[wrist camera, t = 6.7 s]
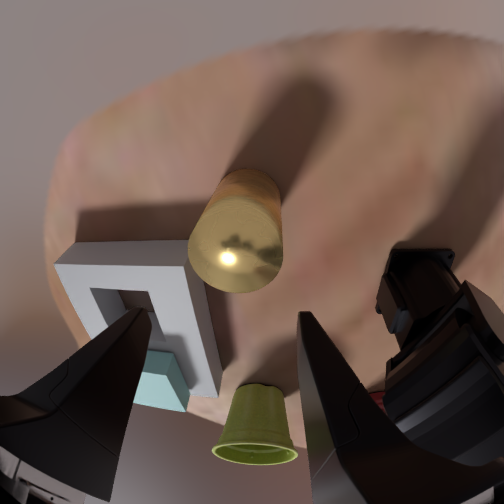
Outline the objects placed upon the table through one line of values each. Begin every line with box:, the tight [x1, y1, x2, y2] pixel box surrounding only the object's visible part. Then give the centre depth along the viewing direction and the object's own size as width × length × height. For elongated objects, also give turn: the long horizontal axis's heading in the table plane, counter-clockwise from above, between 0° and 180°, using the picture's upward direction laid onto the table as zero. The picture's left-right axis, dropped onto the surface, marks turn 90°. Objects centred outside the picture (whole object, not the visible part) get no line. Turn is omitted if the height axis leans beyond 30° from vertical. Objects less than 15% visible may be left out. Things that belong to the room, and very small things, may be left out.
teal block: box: [133, 350, 190, 412], centre depth 23 cm, size 6×7×2 cm
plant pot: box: [212, 384, 298, 465], centre depth 28 cm, size 9×9×9 cm
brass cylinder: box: [188, 169, 283, 293], centre depth 16 cm, size 4×4×7 cm
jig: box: [54, 240, 223, 398], centre depth 24 cm, size 12×17×4 cm
